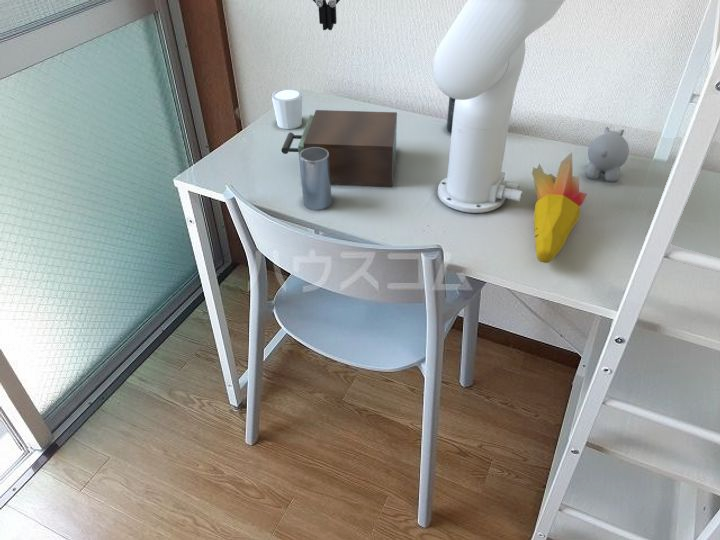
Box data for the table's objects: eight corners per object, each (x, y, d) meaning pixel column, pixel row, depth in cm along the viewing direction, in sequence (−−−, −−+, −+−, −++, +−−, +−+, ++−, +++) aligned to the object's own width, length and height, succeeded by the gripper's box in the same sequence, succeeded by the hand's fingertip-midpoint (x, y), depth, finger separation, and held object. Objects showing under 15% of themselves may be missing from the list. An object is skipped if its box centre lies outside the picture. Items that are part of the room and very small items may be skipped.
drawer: (279, 176, 113) (275, 145, 108) (292, 144, 123) (289, 114, 119) (380, 180, 111) (380, 149, 107) (384, 147, 121) (385, 117, 117)
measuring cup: (306, 194, 109) (302, 146, 103) (333, 195, 109) (330, 147, 102) (300, 213, 104) (295, 164, 98) (328, 214, 104) (325, 165, 98)
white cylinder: (303, 130, 130) (300, 100, 125) (272, 130, 130) (269, 100, 126) (305, 117, 135) (303, 88, 131) (276, 117, 135) (273, 88, 131)
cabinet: (306, 183, 112) (303, 143, 107) (318, 147, 123) (315, 109, 118) (391, 187, 111) (392, 146, 105) (395, 150, 122) (396, 112, 117)
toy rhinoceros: (626, 159, 118) (638, 120, 112) (618, 187, 109) (631, 147, 104) (590, 152, 120) (600, 113, 115) (579, 179, 112) (589, 139, 107)
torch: (531, 286, 94) (548, 191, 110) (581, 279, 89) (591, 181, 105) (513, 250, 89) (533, 157, 105) (565, 241, 85) (578, 145, 101)
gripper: (368, -91, 98) (370, 22, 110) (282, -90, 99) (292, 21, 111) (365, -84, 92) (366, 34, 104) (273, -83, 93) (284, 34, 105)
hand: (328, 27), depth 107 cm, fingers closed
